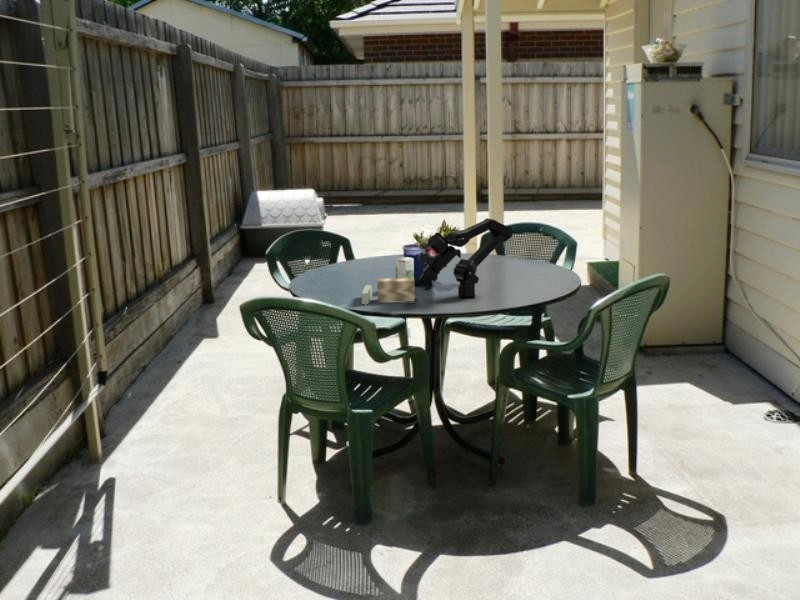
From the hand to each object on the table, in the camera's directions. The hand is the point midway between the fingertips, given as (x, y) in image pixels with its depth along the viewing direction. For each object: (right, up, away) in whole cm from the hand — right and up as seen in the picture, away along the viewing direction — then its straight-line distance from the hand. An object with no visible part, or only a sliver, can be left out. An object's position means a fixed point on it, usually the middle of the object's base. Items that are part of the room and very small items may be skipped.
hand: (417, 284), depth 359 cm
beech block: (-9, -7, +2) cm, 11 cm away
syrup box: (-5, -2, +21) cm, 21 cm away
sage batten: (-21, -7, +3) cm, 22 cm away
